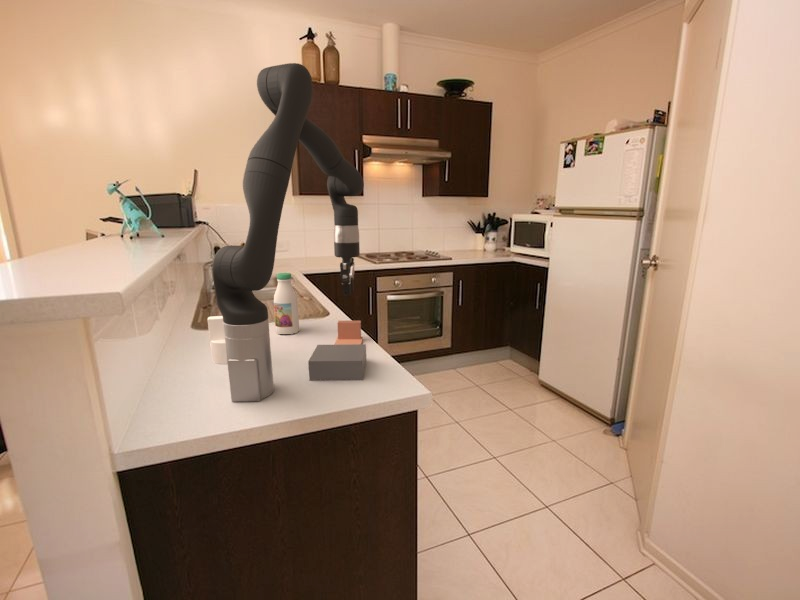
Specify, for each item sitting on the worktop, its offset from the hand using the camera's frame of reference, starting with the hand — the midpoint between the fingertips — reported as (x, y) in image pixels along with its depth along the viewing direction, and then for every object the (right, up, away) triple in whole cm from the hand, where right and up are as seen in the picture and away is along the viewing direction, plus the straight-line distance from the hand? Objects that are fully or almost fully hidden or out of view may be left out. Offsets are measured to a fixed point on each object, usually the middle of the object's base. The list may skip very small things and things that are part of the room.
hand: (348, 293), depth 125 cm
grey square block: (0, -20, -20) cm, 29 cm away
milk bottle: (-22, -13, +12) cm, 28 cm away
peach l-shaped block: (0, -17, -5) cm, 17 cm away
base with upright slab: (-32, -18, -11) cm, 38 cm away
